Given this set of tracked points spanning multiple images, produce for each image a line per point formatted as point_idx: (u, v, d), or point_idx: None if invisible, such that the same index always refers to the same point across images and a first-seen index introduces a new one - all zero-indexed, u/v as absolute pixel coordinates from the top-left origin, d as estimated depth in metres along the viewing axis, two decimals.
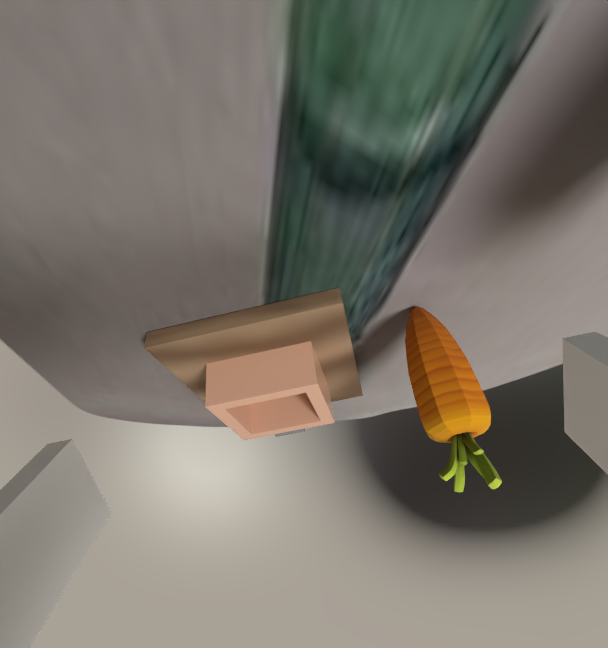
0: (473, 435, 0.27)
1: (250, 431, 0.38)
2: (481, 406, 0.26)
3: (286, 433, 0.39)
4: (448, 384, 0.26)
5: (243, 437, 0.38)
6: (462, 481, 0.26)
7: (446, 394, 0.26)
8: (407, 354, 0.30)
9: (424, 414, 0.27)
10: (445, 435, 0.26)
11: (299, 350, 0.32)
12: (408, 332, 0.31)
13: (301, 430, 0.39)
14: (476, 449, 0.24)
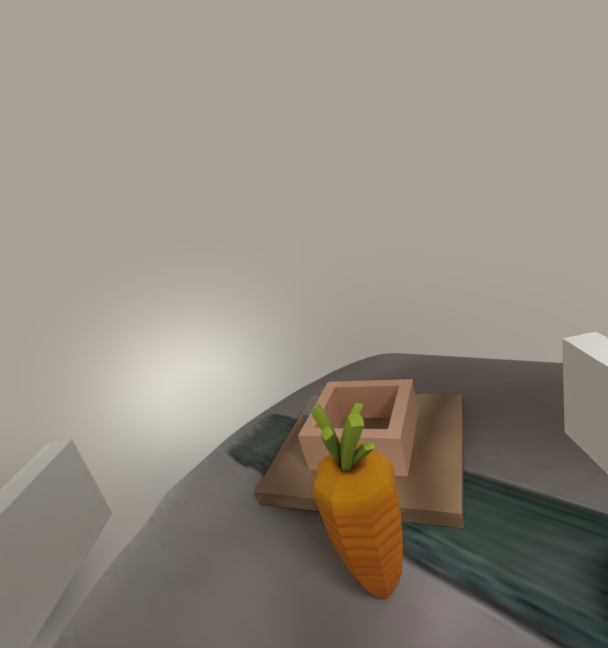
0: (339, 473, 0.22)
1: (337, 388, 0.42)
2: (377, 503, 0.20)
3: (311, 404, 0.40)
4: (397, 503, 0.22)
5: (333, 382, 0.43)
6: (324, 417, 0.22)
7: (395, 490, 0.22)
8: None
9: None
10: None
11: (408, 461, 0.34)
12: None
13: (306, 413, 0.39)
14: (372, 447, 0.21)
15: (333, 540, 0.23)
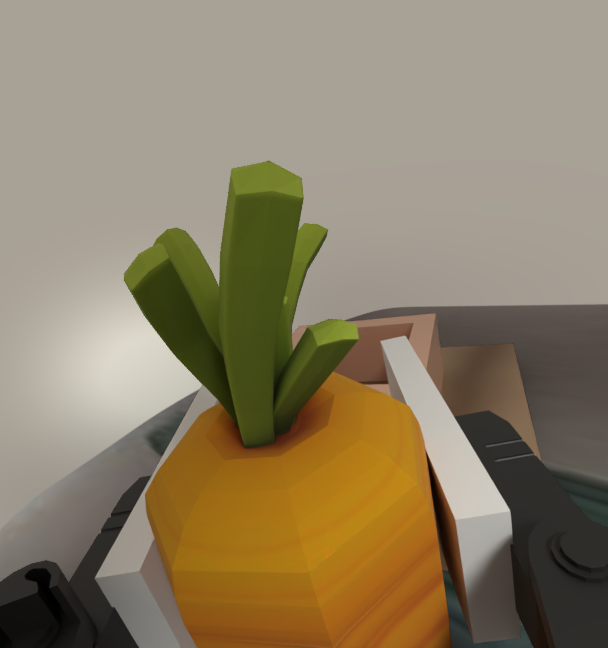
0: (229, 451, 0.06)
1: None
2: (368, 580, 0.05)
3: None
4: None
5: (308, 326, 0.27)
6: (191, 259, 0.06)
7: None
8: None
9: None
10: (339, 382, 0.07)
11: None
12: None
13: None
14: (350, 339, 0.05)
15: None
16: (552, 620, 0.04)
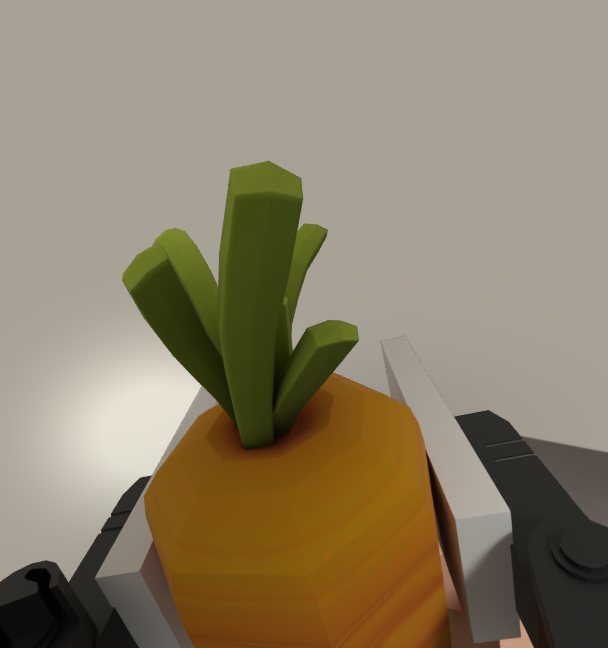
0: (228, 452, 0.06)
1: None
2: (367, 582, 0.05)
3: None
4: None
5: None
6: (190, 260, 0.06)
7: None
8: None
9: None
10: (339, 382, 0.07)
11: None
12: None
13: None
14: (350, 340, 0.05)
15: None
16: (552, 620, 0.04)
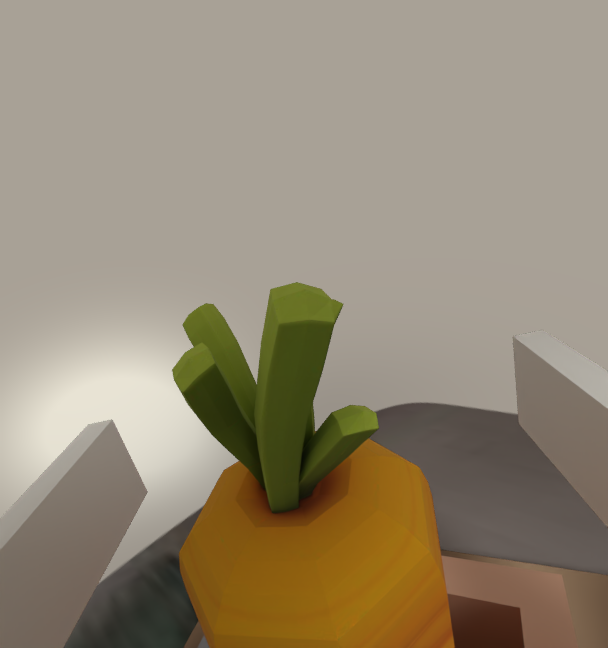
0: (258, 517, 0.06)
1: None
2: (387, 643, 0.05)
3: None
4: None
5: None
6: (220, 335, 0.07)
7: None
8: None
9: None
10: None
11: None
12: None
13: None
14: (370, 425, 0.06)
15: None
16: None
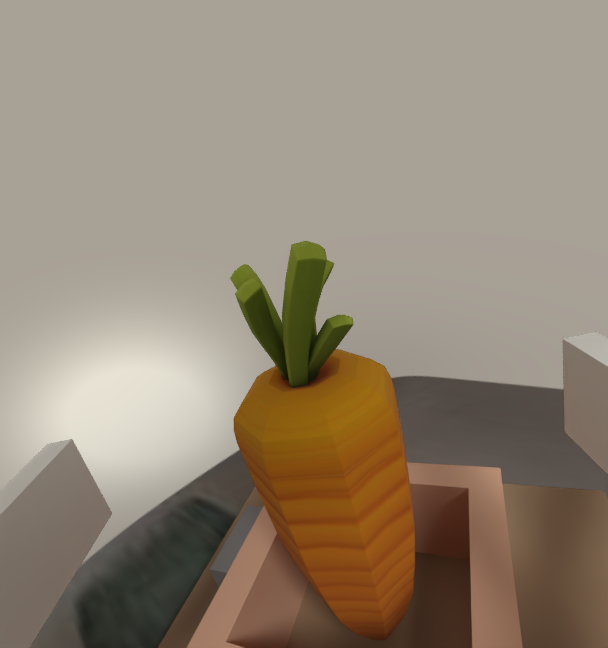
0: (284, 389, 0.10)
1: None
2: (360, 444, 0.09)
3: (241, 528, 0.16)
4: (403, 454, 0.11)
5: None
6: None
7: (399, 428, 0.11)
8: None
9: None
10: (342, 353, 0.12)
11: None
12: None
13: (221, 563, 0.14)
14: (348, 325, 0.10)
15: (279, 531, 0.12)
16: None
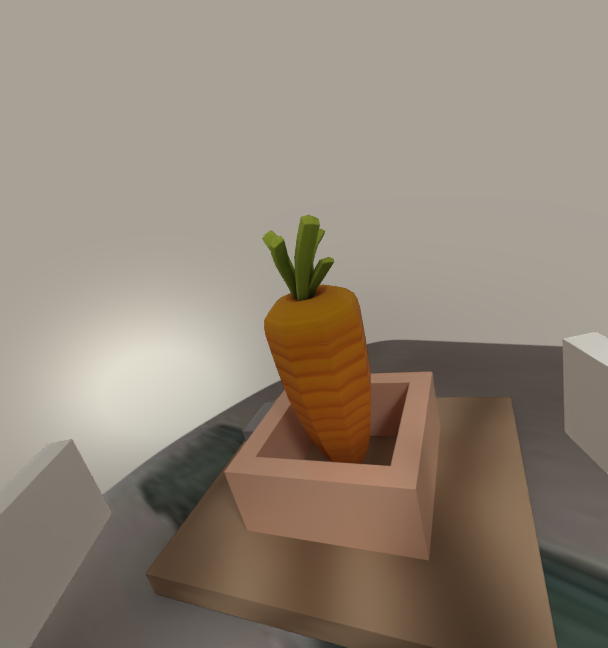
0: (294, 301, 0.18)
1: None
2: (336, 327, 0.17)
3: (261, 412, 0.24)
4: (364, 344, 0.19)
5: None
6: None
7: (362, 329, 0.19)
8: None
9: None
10: (329, 285, 0.19)
11: (428, 527, 0.17)
12: None
13: (249, 428, 0.22)
14: (331, 263, 0.17)
15: (289, 393, 0.20)
16: None
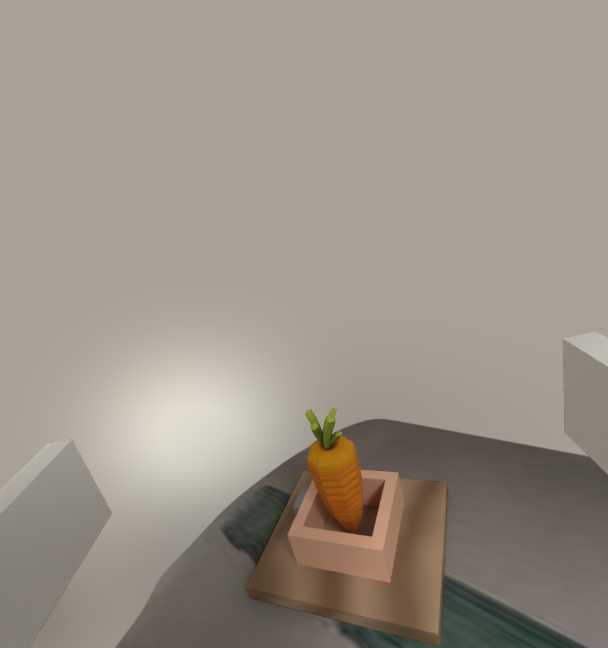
0: (322, 450, 0.36)
1: None
2: (344, 466, 0.35)
3: (301, 494, 0.42)
4: (357, 468, 0.37)
5: None
6: (313, 417, 0.37)
7: (356, 461, 0.37)
8: None
9: None
10: (339, 437, 0.38)
11: (391, 566, 0.35)
12: None
13: (296, 506, 0.40)
14: (341, 434, 0.36)
15: (319, 492, 0.38)
16: None
